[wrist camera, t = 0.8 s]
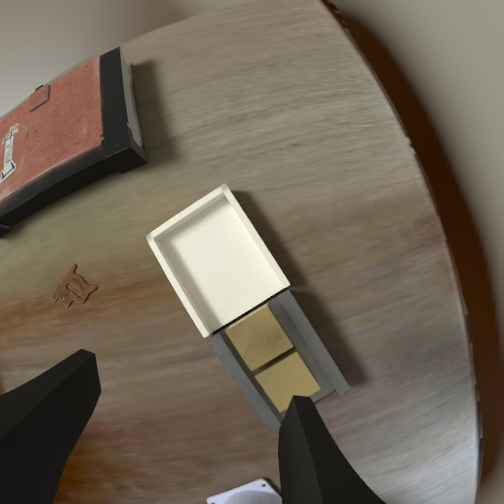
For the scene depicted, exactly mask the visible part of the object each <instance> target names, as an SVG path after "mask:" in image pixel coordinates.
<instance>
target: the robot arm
mask: <svg viewBox="0 0 504 504" xmlns="http://www.w3.org/2000/svg"><path fill="white" fill-rule="evenodd" d="M100 394H101V386H100V380H99V375H98V369H97V363H96V357H95V353H92V352H89V351H86V350H83V349H80V350H79V351H77V352H75V353H74V354H72V355H71V356H69V357H68V358H66V359H65V360H63V361H61V362H60V363H58V364H57V365H55V366H54V367H52V368H50V369H49V370H47V371H46V372H44V373H42V374H41V375H39V376H37V377H36V378H34V379H32V380H30V381H28V382H27V383H25V384H23V385H21V386H19V387H17V388H15V389H13V390H11V391H9V392H7V393H5V394H2V395H0V504H53V501H54V497H55V494H56V490H57V487H58V484H59V481H60V478H61V475H62V472H63V469H64V467H65V464H66V461H67V459H68V457H69V455H70V453H71V451H72V449H73V448H74V446H75V444H76V442H77V440H78V438H79V437H80V435H81V433H82V431H83V430H84V428H85V426H86V424H87V422H88V421H89V419H90V417H91V415H92V413H93V411H94V409H95V406H96V404H97V401H98V399H99V396H100ZM278 459H279V472H280V484H281V496H282V497H281V496H280V495H279V494H278V493H277V492H276V491H275V490H274V489H273V488H272V486H271V485H270V484H269V483H268V482H267V481H266V480H265V479H263V478H261V479H258V480H255V481H253V482H250V483H248V484H245V485H243V486H240V487H237V488H235V489H232V490H229V491H226V492H223V493H220V494H217V495H214V496H211V497H208V498H207V502H208V503H209V504H386V503H385V502H384V501H382V500H381V499H380V498H379V497H378V496H377V495H376V494H375V493H374V492H373V491H372V490H371V489H370V488H369V487H368V486H367V485H366V483H365V482H364V481H363V480H362V479H361V478H360V476H359V475H358V474H357V473H356V472H355V470H354V469H353V468H352V466H351V465H350V464H349V462H348V461H347V459H346V458H345V457H344V455H343V454H342V452H341V451H340V449H339V448H338V446H337V444H336V443H335V441H334V440H333V438H332V436H331V435H330V433H329V431H328V429H327V428H326V426H325V424H324V422H323V420H322V419H321V417H320V415H319V413H318V411H317V409H316V407H315V405H314V403H313V401H312V399H311V398H310V397H308V396H297V395H293V396H292V399H291V401H290V404H289V406H288V409H287V411H286V414H285V416H284V419H283V421H282V424H281V426H280V428H279V442H278ZM263 484H265V485H263ZM212 502H213V503H212Z"/></svg>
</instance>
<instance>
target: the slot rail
mask: <svg viewBox="0 0 504 504" xmlns="http://www.w3.org/2000/svg"><path fill="white" fill-rule="evenodd" d="M265 304H266V303H265ZM268 304H269V305H270V307H271V308H272V310H273V312H274V313H275V315H276V316H277V318H278V319H279V321H280V323H281V324H282V326H283V327H284V329H285V330H286V332H287V333H288V335H289V337H290V338H291V341H292V343H294V344H295V346H296V347H297V349H298V351H299V352H300V354H301V355H302V357H303V358H304V360H305V361H306V363H307V365H308V366H309V368H310V369H311V371H312V372H313V374H314V375H315V377H316V380H317V382H318V384H319V386H320V388H321V389H320V390H318V391H317V392H315V393H313V394H312V395H310V396H308V397H310V398H311V399H312V401H313V403H314V402H316V401H317V400H319V399H321V398H322V397H324V396H326V395H327V394H329V393H331V392H332V391H334V390H335V389H336V391H337V392H338V394H339V395H340V396H341V395H342V394H344V393H346V392H347V391H349V390H350V389H351V388H350V387H349V385H348V383H347V382H346V380H345V378H344V377H343V375H342V374H341V372H340V370H339V369H338V367H337V366H336V364H335V362H334V361H333V359H332V358H331V356H330V354H329V353H328V351H327V350H326V348H325V346H324V345H323V343H322V342H321V340H320V338H319V337H318V335H317V334H316V332H315V330H314V329H313V327H312V326H311V324H310V322H309V321H308V319H307V318H306V316H305V315H304V313H303V311H302V310H301V308H300V307H299V305H298V303H297V302H296V300H295V299H294V297H293V296H292V294H291V292H290V291H289V290H288V289H287V290H286V291H284V292H282V293H281V294H279V295H278V296H276V297H274V298H273V299H271V300H270V301H268ZM263 305H264V304H263ZM263 305H262V306H263ZM260 307H261V306H260ZM257 309H258V308H257ZM255 310H256V309H255ZM255 310H254V311H255ZM252 312H253V311H252ZM250 313H251V312H250ZM250 313H249V314H250ZM247 315H248V314H247ZM244 317H245V316H244ZM242 318H243V317H242ZM242 318H241V319H242ZM239 320H240V319H239ZM237 321H238V320H237ZM237 321H236V322H237ZM234 323H235V322H234ZM232 324H233V323H232ZM232 324H231V325H232ZM231 325H229V326H227V327H226V328H224V329H222V330H221V331H219V332H217V333H216V334H214V335H213V336H212V337H211V338H209V339H208V341H209V343H210V345H211V346H212V348H213V349H214V351H215V352H216V354H217V355H218V357H219V358H220V360H221V361H222V363H223V364H224V366H225V367H226V369H227V370H228V372H229V373H230V375H231V376H232V378H233V379H234V381H235V382H236V384H237V385H238V387H239V388H240V389H241V391H242V392H243V394H244V395H245V397H246V398H247V399H248V401H249V402H250V404H251V405H252V406H253V408H254V409H255V411H256V412H257V413H258V415H259V416H260V417H261V419H262V420H263V422H264V423H265V424H266V426H267V427H268V428H269V430H270V431H271V432H272V434H274V433H276V432H278V431H279V428H280V426H281V424H282V421H283V419H284V416H285V414H286V411H287V409H288V408H287V409H285V410H284V411H282V412H279V411H278V409H277V408H276V406H275V405H274V404H273V402H272V401H271V399H270V398H269V396H268V395H267V394H266V392H265V391H264V389H263V388H262V386H261V385H260V383H259V382H258V381H257V379H256V378H255V372H256V369H255V370H253V371H251V370H250V369H249V367H248V366H247V364H246V363H245V361H244V360H243V358H242V357H241V355H240V354H239V352H238V351H237V349H236V348H235V346H234V344H233V343H232V341H231V340H230V338H229V337H228V335H227V334H226V332H225V331H226V330H227V329H228V328H229V327H230V326H231Z"/></svg>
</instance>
